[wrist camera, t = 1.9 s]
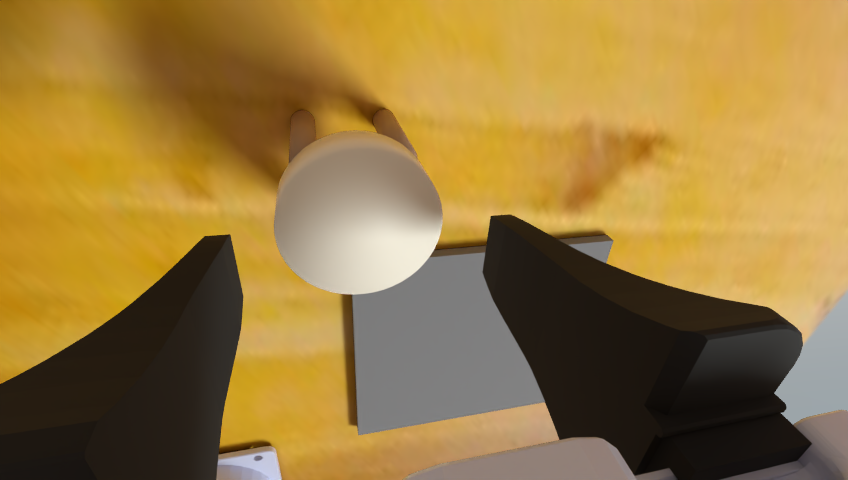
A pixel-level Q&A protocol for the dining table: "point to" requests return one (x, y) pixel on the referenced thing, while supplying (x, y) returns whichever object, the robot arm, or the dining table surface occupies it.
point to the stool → (355, 207)
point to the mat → (441, 344)
